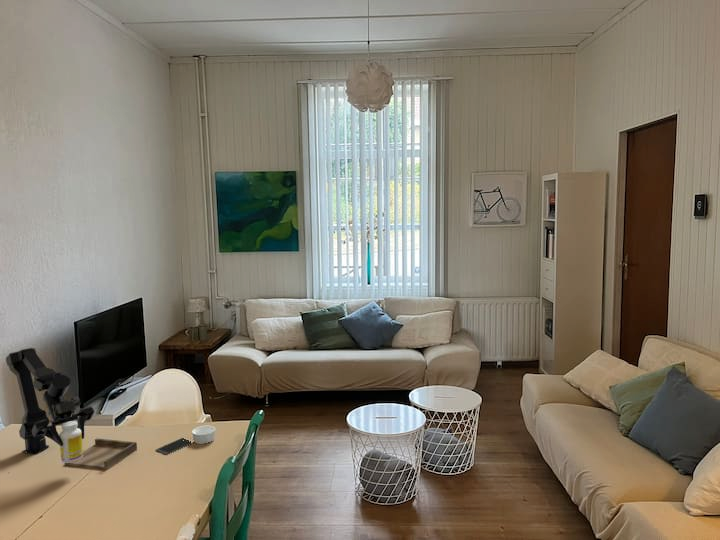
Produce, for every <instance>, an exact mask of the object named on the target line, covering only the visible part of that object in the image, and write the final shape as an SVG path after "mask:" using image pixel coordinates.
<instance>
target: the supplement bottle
mask: <svg viewBox="0 0 720 540" xmlns="http://www.w3.org/2000/svg"><path fill="white" fill-rule="evenodd" d="M77 426H78V423H77V421H76V420H73V421H69V422H65V423H63V424H61V429H62V431H61V432H59V436H60V438H61V440H62V443H63V446H60V445H59V447H60V459H61V462H62V463H64V464H65V463H72V462H76V461H78V460H80V459H81V458H82V457H83V451H84V446H83V439H82V433H81V430H80V429H79V428H77Z"/></svg>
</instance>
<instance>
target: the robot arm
mask: <svg viewBox="0 0 720 540" xmlns="http://www.w3.org/2000/svg"><path fill="white" fill-rule="evenodd" d="M5 362H6V365H7V366H8V368H9V370H10V372H11V373H12V374H14V375H15V376H16V378H17V383H18V388H19V392H20V396H21V401H22V404H23V408H24V414H23V417H22V419H21V426H20V428H19V431H18V433H19V437H20V438H22V439H23V440H24V445H25V449H24V450H22V451H21V452H27V453H26V454H30V453H34V454H33V455H36V453H37V454H38V452H39V453H41V452H42V451H44V450H46V449H48V448H49V447H50V445H47V442H46V441H47V440H46V438H49V439H50V440H52V441H53V442H55V443H56V444H57V445H58V446H59V447H60V446H63V443H62V440H61V438H60V436H59V435H60V433H58V430H57V426H60V425H62V424H63V423H65V422H69V421H77V423H78V426H77V428H79V429H80V430H81V433H82V440H84V439H85V423H86V422H87V421H90V420H91V419H92V417H93V415H94V414H95V409H94V407H92V406H90V405H89V406H86V407H82V408H80V409H79V411H78V413H75V414H73V413H74V412H75V410H76V409H77V407H80V405H81V399H80V397H79V396H75V397H72V398H71V399H70V400H66V398H65V396H64V395H65V394H66V393H67V391H68V389H69V387H70V384H71V378H70V377H68V376H67V375H65V374H62V373H61V372H56V371H55V370H54V369H53V368H50V367H47V366H46V365H45V363H44V362H43V361H42V359H41V358H40V357H39V355H38V353H37V351H36V349H35V348H33V347H28V348H25V349H24V348H23V349H20V350H18V351H15V352H9V354H8V355H7V356H6V357H5ZM32 376H33V377H32ZM33 378H34V379H33ZM36 390H37V391H38V392H43V391H45V392H44V393H43V398H42V399H43V401H44V402H45V404H46V407H47V409H48V415H49V416H51V419H52V420H50V419H49V417H48V416H47V412H46V410H44V409H42V408H40V406H39V402H38V397H37V394H36Z"/></svg>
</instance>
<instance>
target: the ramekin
mask: <svg viewBox="0 0 720 540" xmlns="http://www.w3.org/2000/svg"><path fill="white" fill-rule="evenodd" d="M191 432H192V433H191V434H192V437H193V438H192V439H193V440H194V442H195V444H196V443H198V444H197V445H205V444H204V443H207V444H209V443H208V442H210V443H212V442H213V441H214V440H215V438H216V437H215V436H216V435H215V434H216V427H214V426H213V425H201V426H198V427H195V428H194V429H192V431H191ZM211 441H212V442H211Z"/></svg>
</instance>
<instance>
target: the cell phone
mask: <svg viewBox="0 0 720 540" xmlns="http://www.w3.org/2000/svg"><path fill="white" fill-rule="evenodd" d="M183 440H184V441H183ZM189 444H190V445H192V444H191V441H190V442H189V440H186V439H184V438H183V437H181V438H179V439H176V440H174V441H172V442H170V443H167V444H165V445H163V446H161V447H158V448H156V449H155V452H156V451H157V452H156V453H159V452H160V453H159V454H162V455H164V456H168V454H169V455H171V454H173V453H175V452H177V451H176V450H178V451H179V449H180V450H182V449H184V448H186V447H188V446H190V445H189ZM187 445H188V446H187ZM185 446H186V447H185ZM183 447H184V448H183ZM181 448H182V449H181ZM174 451H175V452H174ZM172 452H173V453H172ZM170 453H171V454H170Z"/></svg>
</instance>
